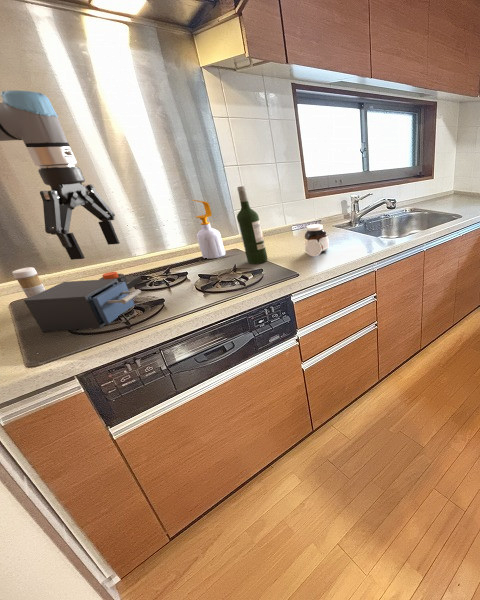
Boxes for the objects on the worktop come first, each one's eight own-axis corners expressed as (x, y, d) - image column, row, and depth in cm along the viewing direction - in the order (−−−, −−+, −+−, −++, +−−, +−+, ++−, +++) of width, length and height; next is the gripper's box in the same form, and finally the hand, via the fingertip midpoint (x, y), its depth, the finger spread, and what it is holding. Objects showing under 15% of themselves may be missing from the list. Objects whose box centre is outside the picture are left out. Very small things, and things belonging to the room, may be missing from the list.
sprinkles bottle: (54, 305, 102) (32, 265, 96) (58, 309, 100) (35, 268, 94) (34, 311, 99) (10, 270, 93) (37, 315, 96) (12, 273, 90)
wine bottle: (268, 262, 135) (251, 187, 122) (247, 265, 132) (228, 188, 119) (267, 257, 141) (251, 185, 128) (248, 259, 139) (230, 186, 126)
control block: (87, 294, 109) (81, 283, 108) (107, 283, 118) (103, 273, 117) (124, 292, 110) (120, 281, 109) (142, 281, 119) (138, 271, 118)
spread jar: (325, 247, 152) (322, 222, 147) (334, 253, 144) (331, 227, 139) (300, 252, 146) (296, 226, 141) (308, 258, 138) (304, 231, 133)
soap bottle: (199, 257, 144) (181, 200, 133) (219, 251, 150) (203, 197, 140) (209, 260, 139) (192, 201, 128) (229, 255, 146) (214, 198, 135)
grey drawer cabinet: (129, 307, 100) (117, 278, 96) (100, 328, 89) (84, 296, 84) (79, 310, 99) (63, 281, 94) (42, 332, 87) (23, 300, 83)
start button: (101, 280, 111) (99, 276, 110) (109, 276, 114) (107, 271, 114) (113, 280, 111) (111, 275, 110) (121, 275, 115) (119, 271, 114)
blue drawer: (151, 303, 99) (142, 280, 96) (128, 322, 89) (116, 296, 86) (87, 308, 98) (75, 284, 94) (55, 327, 88) (41, 301, 84)
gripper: (28, 169, 68) (76, 265, 77) (109, 163, 90) (139, 238, 99) (-12, 171, 67) (42, 267, 76) (80, 164, 89) (113, 239, 99)
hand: (97, 251), depth 88 cm, fingers open, 13 cm apart
